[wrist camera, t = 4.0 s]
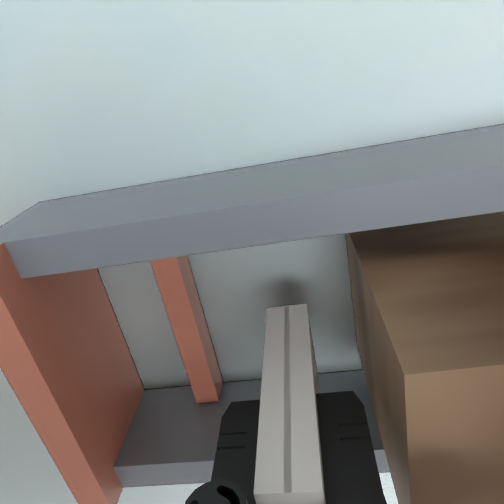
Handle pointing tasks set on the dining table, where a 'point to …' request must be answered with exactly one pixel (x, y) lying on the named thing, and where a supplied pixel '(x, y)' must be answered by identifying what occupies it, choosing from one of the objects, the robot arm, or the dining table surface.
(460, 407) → the block
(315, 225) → the channel
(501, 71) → the dining table surface
